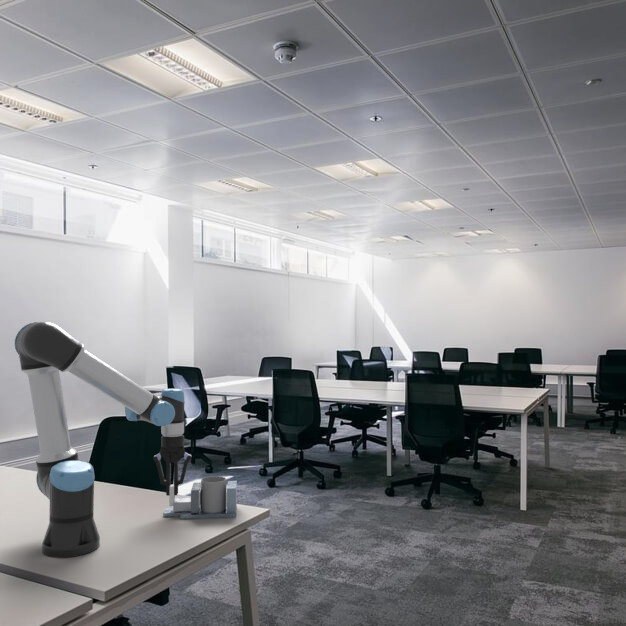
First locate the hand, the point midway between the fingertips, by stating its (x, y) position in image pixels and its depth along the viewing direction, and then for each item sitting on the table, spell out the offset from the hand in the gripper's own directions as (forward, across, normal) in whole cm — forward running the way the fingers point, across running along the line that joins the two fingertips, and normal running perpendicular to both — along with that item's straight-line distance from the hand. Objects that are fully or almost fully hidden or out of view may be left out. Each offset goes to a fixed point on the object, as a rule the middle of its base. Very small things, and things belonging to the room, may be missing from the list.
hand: (172, 504), depth 199 cm
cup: (+2, -14, 0) cm, 14 cm away
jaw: (+1, -5, 0) cm, 5 cm away
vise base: (+3, -9, 0) cm, 10 cm away
